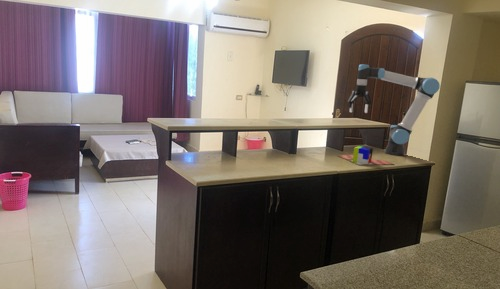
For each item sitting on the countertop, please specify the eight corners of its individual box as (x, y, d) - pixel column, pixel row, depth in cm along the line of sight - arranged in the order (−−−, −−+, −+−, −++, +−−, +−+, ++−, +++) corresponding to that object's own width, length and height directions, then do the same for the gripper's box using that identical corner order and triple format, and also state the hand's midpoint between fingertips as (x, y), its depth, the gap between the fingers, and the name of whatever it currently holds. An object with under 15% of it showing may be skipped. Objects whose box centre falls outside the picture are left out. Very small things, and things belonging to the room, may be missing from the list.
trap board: (369, 155, 299) (370, 154, 299) (394, 164, 272) (394, 164, 272) (336, 155, 290) (336, 155, 290) (358, 165, 263) (358, 164, 263)
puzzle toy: (366, 164, 265) (368, 150, 263) (352, 161, 270) (354, 147, 268) (371, 162, 273) (372, 148, 271) (357, 159, 279) (358, 146, 277)
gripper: (372, 85, 306) (369, 112, 310) (344, 83, 299) (341, 111, 303) (378, 86, 299) (374, 113, 303) (350, 84, 292) (346, 112, 296)
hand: (358, 112), depth 303 cm, fingers open, 13 cm apart
